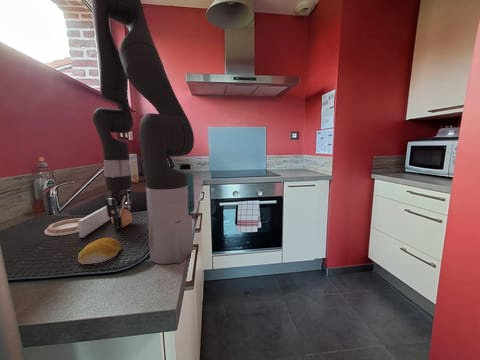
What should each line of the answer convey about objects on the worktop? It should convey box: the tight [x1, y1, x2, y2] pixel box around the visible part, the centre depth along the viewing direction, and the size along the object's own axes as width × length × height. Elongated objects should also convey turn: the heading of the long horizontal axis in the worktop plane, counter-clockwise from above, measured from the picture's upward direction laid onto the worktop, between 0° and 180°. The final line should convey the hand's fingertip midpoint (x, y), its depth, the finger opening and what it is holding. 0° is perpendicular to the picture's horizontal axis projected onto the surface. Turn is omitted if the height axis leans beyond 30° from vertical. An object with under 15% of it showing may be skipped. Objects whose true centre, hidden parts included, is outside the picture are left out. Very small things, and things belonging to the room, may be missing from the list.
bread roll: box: [77, 237, 122, 265], centre depth 52 cm, size 8×9×4 cm
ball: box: [110, 209, 133, 228], centre depth 70 cm, size 6×6×6 cm
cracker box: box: [129, 153, 140, 184], centre depth 151 cm, size 14×6×21 cm, turn 152°
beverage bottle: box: [179, 163, 195, 214], centre depth 82 cm, size 6×7×20 cm
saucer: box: [44, 217, 84, 237], centre depth 69 cm, size 12×12×2 cm
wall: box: [78, 205, 111, 238], centre depth 70 cm, size 16×1×5 cm, turn 7°
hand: (122, 224), depth 71 cm, fingers closed on ball, 6 cm apart
